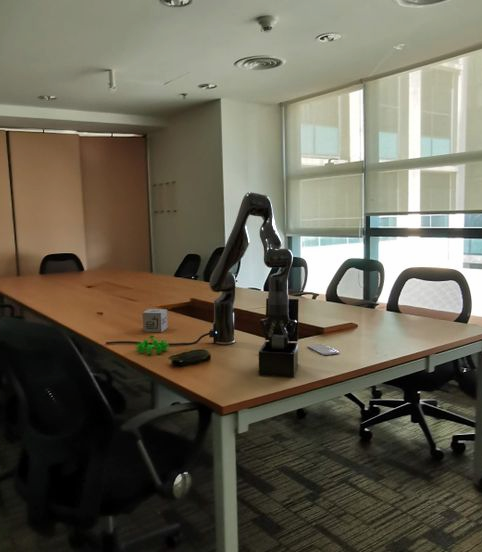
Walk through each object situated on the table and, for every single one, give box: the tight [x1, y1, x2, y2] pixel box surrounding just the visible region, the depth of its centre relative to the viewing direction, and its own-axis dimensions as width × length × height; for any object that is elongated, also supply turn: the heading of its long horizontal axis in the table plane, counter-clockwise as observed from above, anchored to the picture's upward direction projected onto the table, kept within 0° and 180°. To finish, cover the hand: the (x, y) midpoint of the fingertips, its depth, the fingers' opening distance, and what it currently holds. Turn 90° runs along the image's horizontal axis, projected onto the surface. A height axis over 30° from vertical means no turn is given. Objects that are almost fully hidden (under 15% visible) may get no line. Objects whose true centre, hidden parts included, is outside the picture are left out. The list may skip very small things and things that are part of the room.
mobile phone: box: [307, 343, 339, 356], centre depth 213 cm, size 8×1×15 cm
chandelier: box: [135, 334, 170, 356], centre depth 217 cm, size 15×15×7 cm
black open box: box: [258, 340, 299, 378], centre depth 187 cm, size 16×13×9 cm
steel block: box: [272, 335, 284, 349], centre depth 185 cm, size 4×4×4 cm
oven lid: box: [264, 297, 300, 343], centre depth 197 cm, size 17×13×5 cm
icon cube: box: [142, 308, 168, 333], centre depth 258 cm, size 10×10×10 cm
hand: (278, 346), depth 185 cm, fingers closed on steel block, 4 cm apart
